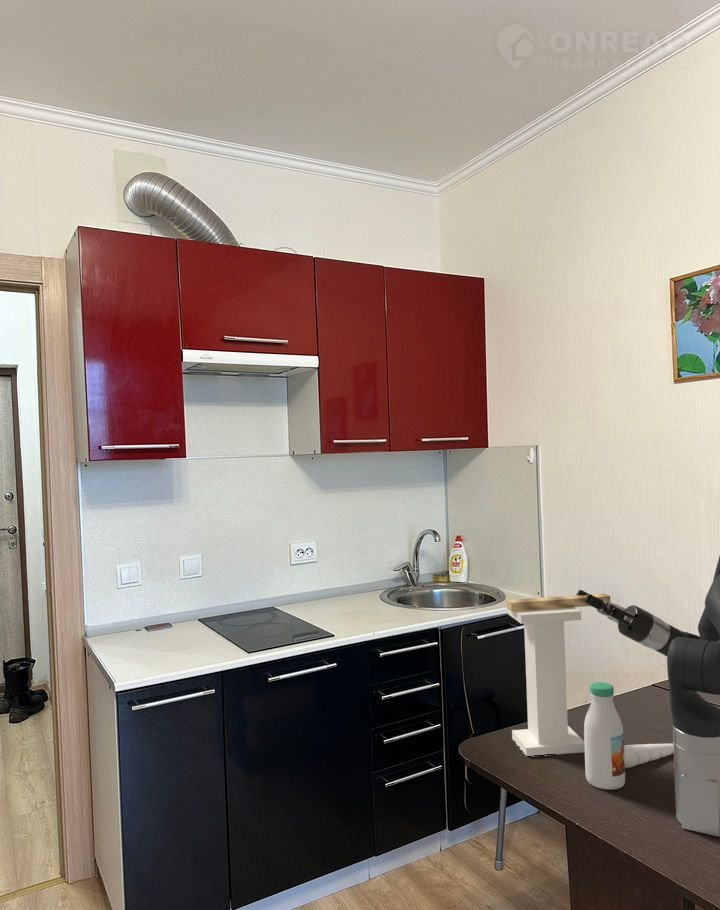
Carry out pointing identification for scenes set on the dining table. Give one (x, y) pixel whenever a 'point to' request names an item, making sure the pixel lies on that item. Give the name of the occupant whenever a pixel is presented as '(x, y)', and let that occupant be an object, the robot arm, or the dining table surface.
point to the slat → (552, 602)
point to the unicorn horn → (645, 753)
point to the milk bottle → (604, 740)
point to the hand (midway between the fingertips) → (582, 595)
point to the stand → (546, 683)
